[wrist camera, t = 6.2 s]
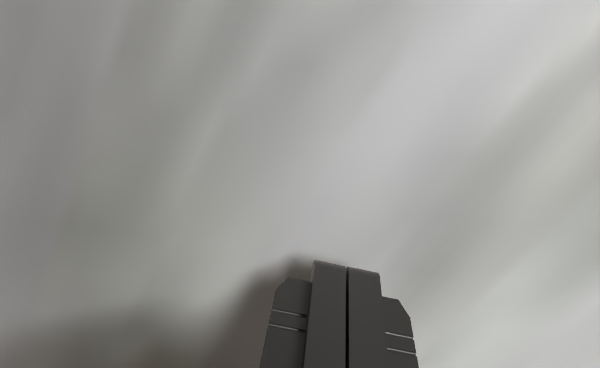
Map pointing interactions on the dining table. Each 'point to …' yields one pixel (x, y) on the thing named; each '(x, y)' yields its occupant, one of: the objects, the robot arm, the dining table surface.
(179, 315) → the dining table surface
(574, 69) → the dining table surface
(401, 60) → the dining table surface
